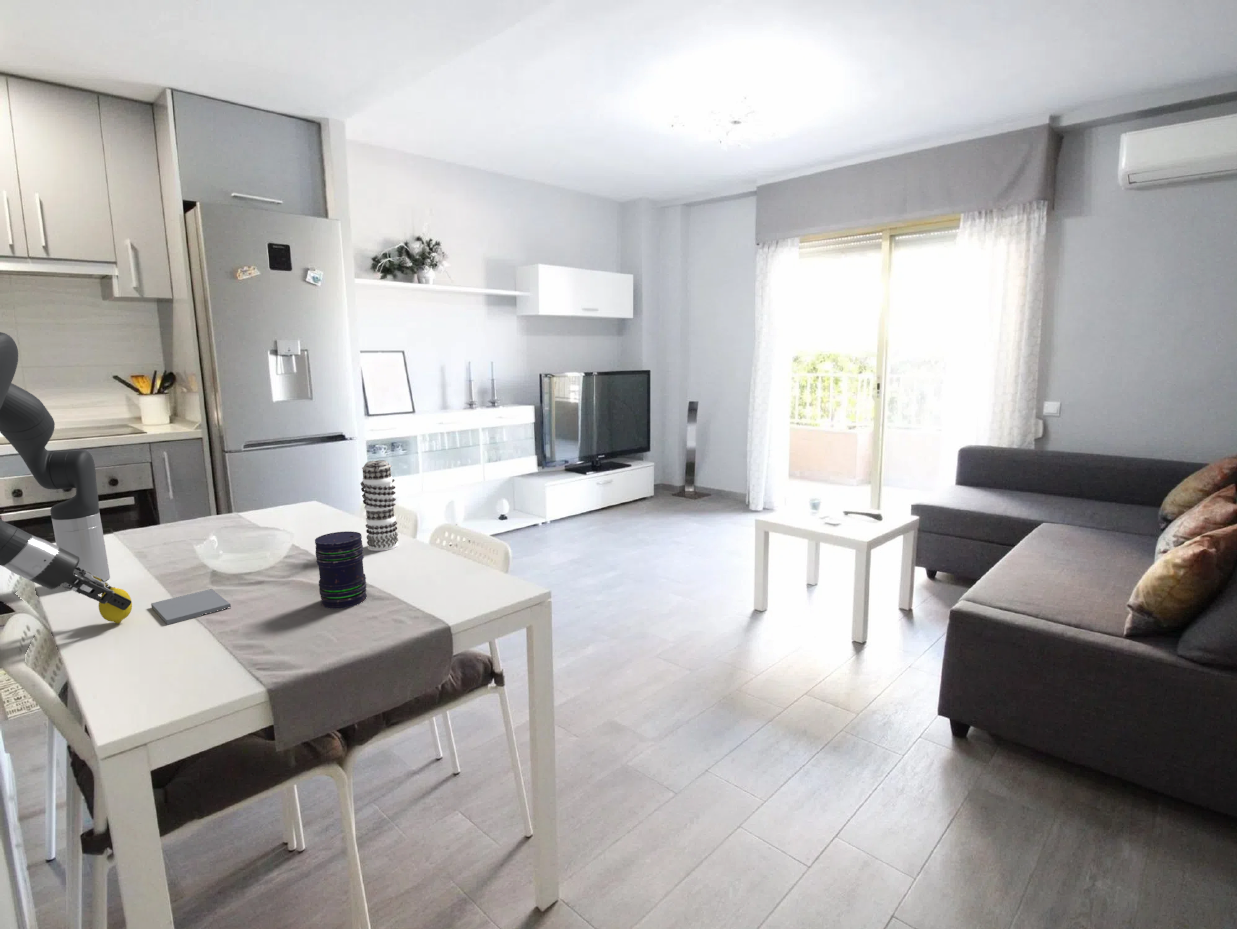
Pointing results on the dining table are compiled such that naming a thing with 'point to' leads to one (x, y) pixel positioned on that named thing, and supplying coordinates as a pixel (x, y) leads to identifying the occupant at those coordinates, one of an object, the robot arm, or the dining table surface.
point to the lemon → (115, 608)
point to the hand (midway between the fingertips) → (124, 602)
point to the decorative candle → (379, 505)
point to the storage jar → (341, 569)
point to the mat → (189, 606)
